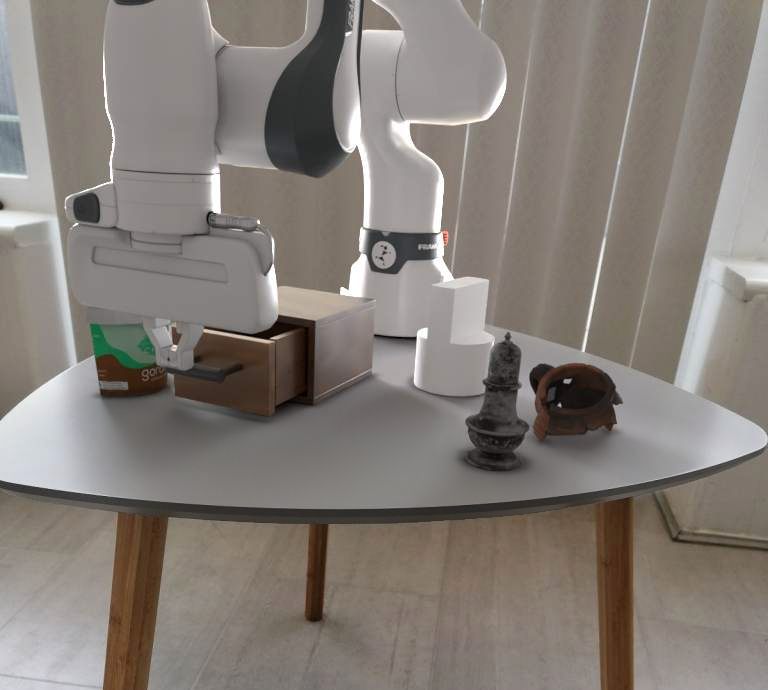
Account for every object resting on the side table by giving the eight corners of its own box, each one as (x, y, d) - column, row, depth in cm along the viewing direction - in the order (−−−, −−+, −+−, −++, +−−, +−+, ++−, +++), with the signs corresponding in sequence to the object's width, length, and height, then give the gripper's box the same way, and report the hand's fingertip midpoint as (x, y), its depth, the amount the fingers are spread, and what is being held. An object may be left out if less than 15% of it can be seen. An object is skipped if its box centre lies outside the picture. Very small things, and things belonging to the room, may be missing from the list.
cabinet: (313, 405, 89) (315, 320, 86) (215, 385, 94) (213, 303, 90) (372, 374, 102) (375, 299, 98) (282, 358, 106) (283, 285, 102)
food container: (148, 406, 86) (141, 308, 82) (93, 399, 87) (84, 302, 83) (196, 375, 97) (192, 287, 93) (146, 369, 98) (141, 282, 94)
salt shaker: (520, 450, 80) (537, 326, 75) (528, 474, 75) (546, 341, 70) (460, 446, 80) (472, 322, 75) (462, 469, 75) (476, 337, 70)
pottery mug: (639, 442, 86) (645, 384, 80) (570, 491, 84) (570, 437, 77) (559, 383, 93) (558, 326, 86) (493, 428, 91) (487, 373, 84)
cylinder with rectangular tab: (467, 401, 94) (478, 293, 89) (399, 385, 98) (406, 281, 93) (501, 384, 101) (514, 283, 96) (437, 370, 105) (445, 272, 100)
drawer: (242, 429, 79) (240, 353, 76) (144, 408, 83) (140, 335, 80) (332, 384, 94) (334, 319, 91) (246, 368, 98) (245, 305, 95)
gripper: (293, 216, 70) (291, 378, 75) (100, 195, 77) (112, 343, 83) (251, 222, 64) (252, 395, 70) (49, 198, 72) (65, 356, 77)
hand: (175, 367), depth 76 cm, fingers closed
